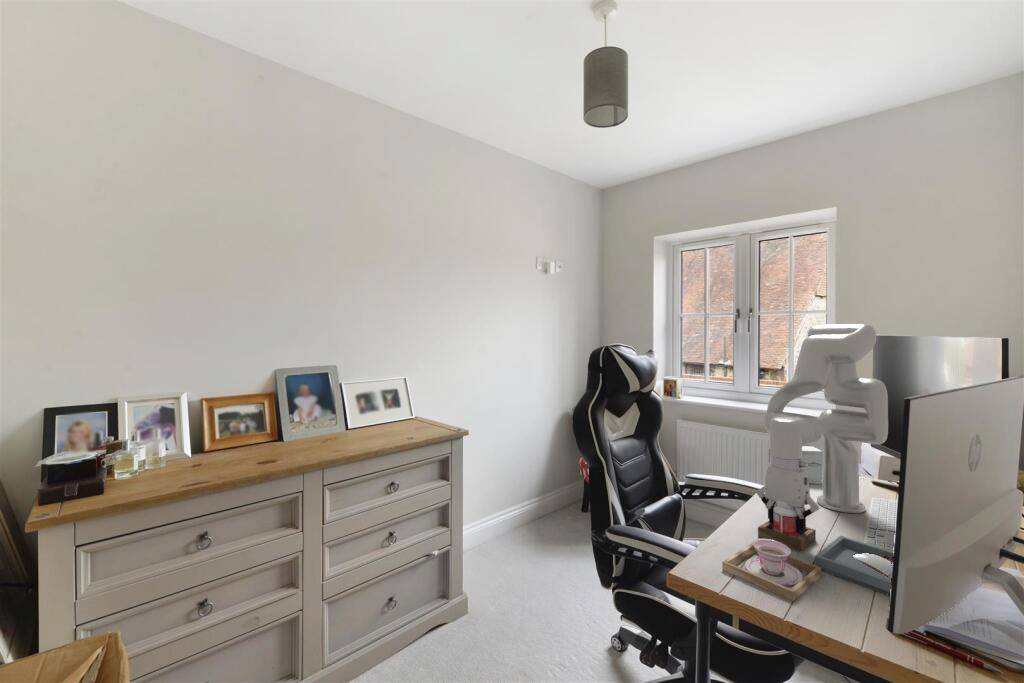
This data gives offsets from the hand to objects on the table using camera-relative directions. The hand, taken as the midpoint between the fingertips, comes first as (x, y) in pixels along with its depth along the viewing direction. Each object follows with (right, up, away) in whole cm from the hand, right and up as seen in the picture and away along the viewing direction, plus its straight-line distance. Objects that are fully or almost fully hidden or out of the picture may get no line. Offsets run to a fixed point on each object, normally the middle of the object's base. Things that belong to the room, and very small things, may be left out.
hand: (786, 526), depth 120 cm
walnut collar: (0, -4, 0) cm, 4 cm away
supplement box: (+37, -2, +45) cm, 58 cm away
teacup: (-13, -5, -16) cm, 21 cm away
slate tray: (+10, -4, -16) cm, 19 cm away
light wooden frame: (-14, -4, -16) cm, 22 cm away
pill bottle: (0, -4, 0) cm, 4 cm away
